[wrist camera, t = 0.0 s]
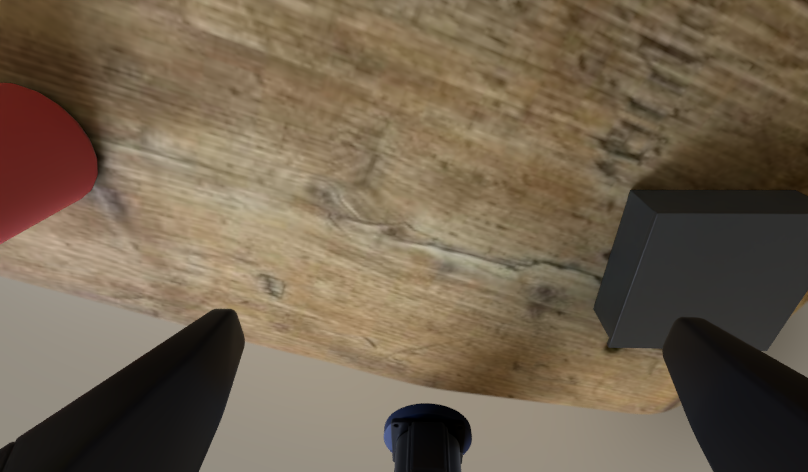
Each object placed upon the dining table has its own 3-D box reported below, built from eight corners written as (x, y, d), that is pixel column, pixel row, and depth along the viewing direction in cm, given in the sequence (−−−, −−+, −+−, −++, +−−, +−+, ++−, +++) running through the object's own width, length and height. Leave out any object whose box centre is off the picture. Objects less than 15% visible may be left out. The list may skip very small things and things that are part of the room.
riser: (730, 313, 25) (767, 350, 22) (589, 311, 25) (608, 347, 23) (801, 186, 20) (859, 214, 18) (627, 186, 21) (657, 213, 18)
